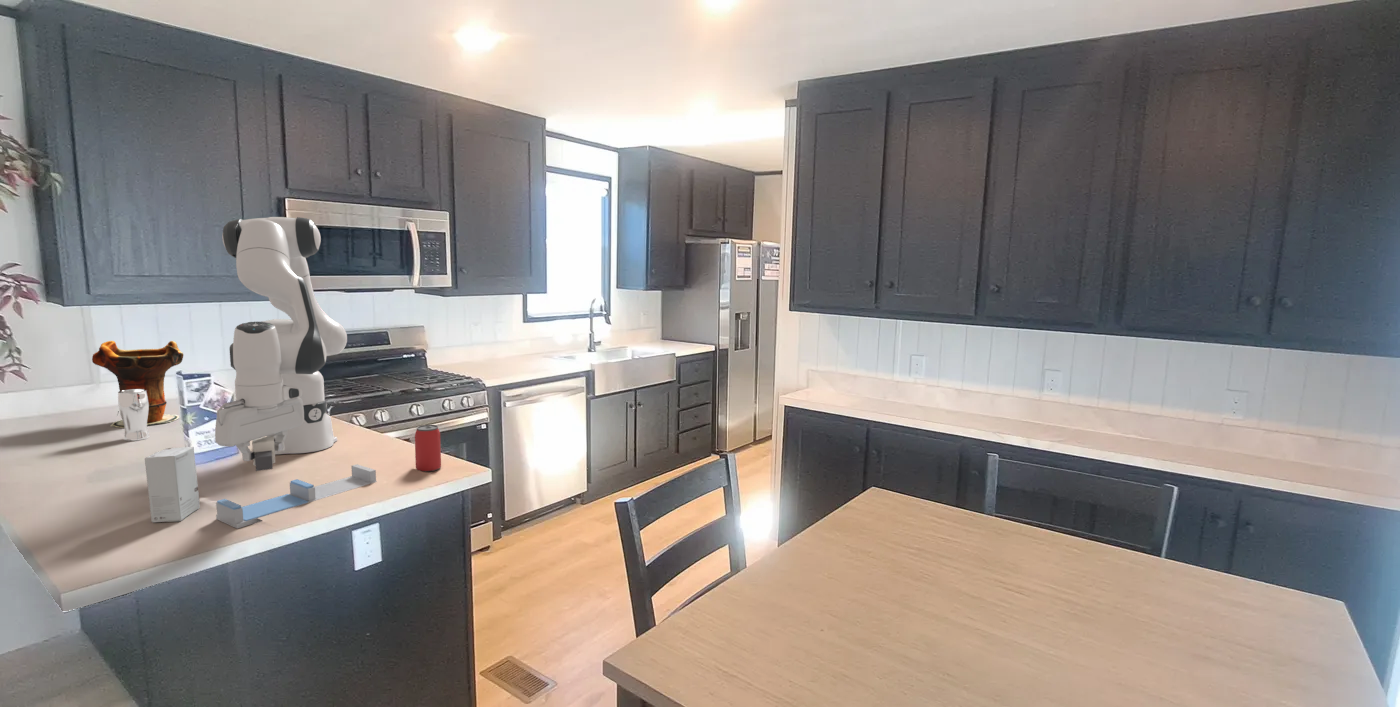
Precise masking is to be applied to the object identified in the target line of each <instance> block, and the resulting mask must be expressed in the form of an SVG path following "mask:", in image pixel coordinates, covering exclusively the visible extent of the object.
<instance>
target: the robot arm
mask: <svg viewBox="0 0 1400 707" xmlns="http://www.w3.org/2000/svg"><path fill="white" fill-rule="evenodd" d="M221 237H222V244H223V246H224V248H225V251H226V252H227V253H228V255H230V256H232V257H233V258H235V260H236V262H235V263H236V264H235V266H236V273H237V274H236V275H237V277H238V280H239V281H240V282H241V284H242V285H243V286H244V287H245V288H247V289H248V290H249V291H251V292H253V293H255V294H258V295H259V296H263V297H266V298H268V300H269V302H270V304H271V305H272V306H273V307H274V308H276V309H277V310H279V311H281V312H283V313H285V314H286V315H287V316H288V317H289V318H290V319H288V318H282V319H281V318H274V319H267V320H262V321H249V322H245V323H244V322H243V323H240V324H238V325H237V326H235V328H234V331H233V332H234V333H233V341H232V342H233V343H231V344H230V345H229V359H230V360H229V361H230V367H231V368H232V369H233V370H235V373H236V376H235V380H234V390H235V400H233V401H231V402H229V401H228V402H225V403H222V405H221V406H220V407H219V408H218V409H217V411H216V419H215V430H214V436H215V437H214V440H215V443H216V444H217V445H218V446H221V447H229V448H231V447H236V448H237V449H238V450H239V452H240V453H241V455H242V458H241V459H242V461H245V462H250V461H253V459H255V456H254V455H255V452H253V450H252V451H251V448H249V447H250V446H251V442H252V441H253V440H255V439H258V438H262V437H271V436H274V447H275V455H285V454H305V453H313V452H319V451H322V450H326V449H329V448H330V447H332V446H333V445H334V443H336V442H338V436H335V435H334V430H333V423H332V417H331V416H330V414H328V413H327V411H328V402H327V399H325V398H326V397H325V386H324V385H325V381H324V376H323V375H322V373H321V372H320V371H319V370H321V369H322V368H323V367H324V366H325V365H326V362H327V357H330V356H334V355H339V354H341V353H342V351H343V350H345V347H346V346H347V343H348V334H347V330H346V329H345V328H344V326H343V325H342V324H341V323H340V322H337V321H336V320H334V319H333V318H332V317H330V316H329V315H328V314H327V313H326V312H325V311H324V310H323V309H322V307H321V306H320V304H319V302H318V300H317V297H316V296H315V292H314V288H313V285H312V279H311V276H310V275H311V274H310V269H309V264H308V261H307V259H309V257H310V256H313V255H316V254H317V252H319V250H320V246H321V242H322V241H321V240H322V238H321V233H320V230H319V229H318V227H317V225H316V223H315V222H314V221H313V220H312V219H310V218H306V217H299V216H297V217H285V216H268V217H259V218H257V217H256V218H249V219H242V218H239V219H234V220H229V221H228V222H227V223H226V224H225V225H224V226H223V229H222V235H221Z"/></svg>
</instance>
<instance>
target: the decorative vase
mask: <svg viewBox="0 0 1400 707" xmlns="http://www.w3.org/2000/svg"><path fill="white" fill-rule="evenodd" d="M183 359H184V352H182V351H181V350H180V349H179V347H178V344H177V342H176V341H174V340H170V341H169V342H168V343H167V344H166V345H165V346H163V347H161V348H142V349H120V348H119V347H118V346H117V343H116V342H115V341H114V340H108V341H105V342H102V343H101V344H100V346H99V349H98V351H96V352H95V353H93V354H92V357H91V361H92V363H93V364H94V365H95V366H99V367H102V368H104V369H106V370H108V371H109V372H110V373H112V374H113V375H114V376H116V379H117V384H118V389H119V391H123V390H129V389H146V391H147V396H148V402H149V411H148V419H147V426H149V425H150V426H151V425H157V424H167V423H170V422H171V423H172V422H174V421H177V420H178V419H179V418H180V415H177V414H167V413H165V411H166V407H167V404H168V403H167V400H166V398H165V386H164V384H165V377H166V372H168V371H169V370H170V369H172V367H175V366H178V365H180V364H181V363H182V362H183ZM119 414H120V412H119V410H118V411H117V414H116V416H118V415H119ZM110 427H115V428H122V429H123V428H124V424H123V421H122V419H120V420H116V421H114V422H112V423H111V424H110Z"/></svg>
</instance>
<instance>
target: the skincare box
mask: <svg viewBox="0 0 1400 707" xmlns="http://www.w3.org/2000/svg"><path fill="white" fill-rule="evenodd" d="M144 464H145V475H146V484H147V491H148V501H149V511H150V519H151V520H150V521H151V523H161V522H162V523H163V522H164V523H165V522H166V523H168V522H169V523H170V522H171V523H172V522H181V521H183V520H184V519H185V518H186V517H188V516H189V515H191V514H192V513H194V512H196V511H198V510H199V509H200V507H201V505H200V504H201V503H200V493H199V485H198V476H197V467H196V466H197V465H196V455H195V448H194V446H183V447H167V448H166V447H165V448H164V449H161V450H160V451H155V452H154V453H153V454H150V455H149V456H145V458H144Z"/></svg>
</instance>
